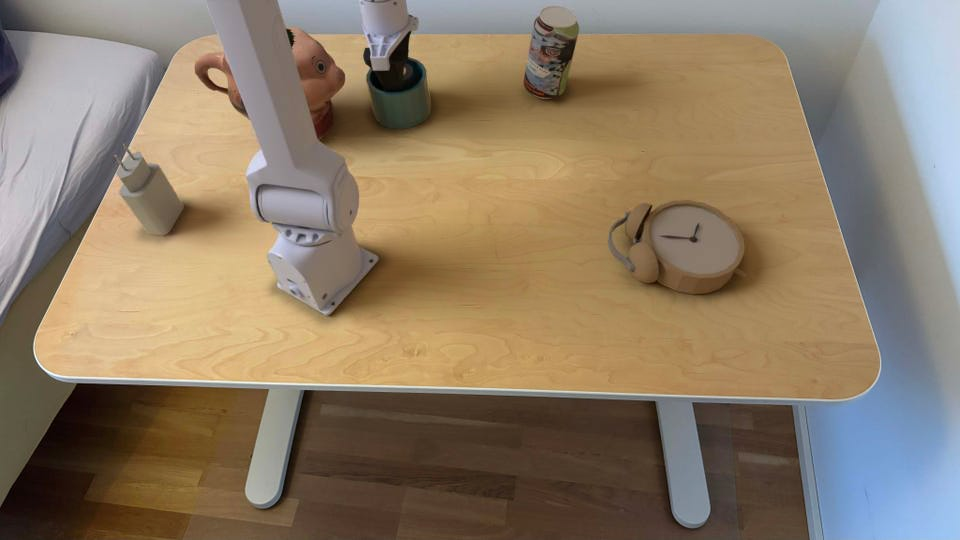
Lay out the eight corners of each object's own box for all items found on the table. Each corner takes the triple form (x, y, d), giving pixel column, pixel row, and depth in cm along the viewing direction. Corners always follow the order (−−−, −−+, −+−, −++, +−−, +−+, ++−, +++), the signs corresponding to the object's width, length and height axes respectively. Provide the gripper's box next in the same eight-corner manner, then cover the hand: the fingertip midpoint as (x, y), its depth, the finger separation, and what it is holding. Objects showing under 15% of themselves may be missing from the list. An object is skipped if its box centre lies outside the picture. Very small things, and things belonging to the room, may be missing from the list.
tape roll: (403, 105, 90) (399, 85, 88) (378, 94, 92) (373, 75, 89) (422, 87, 92) (419, 67, 90) (397, 77, 94) (393, 57, 91)
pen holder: (408, 136, 91) (402, 102, 86) (362, 116, 94) (353, 82, 89) (442, 102, 95) (438, 67, 90) (397, 84, 98) (390, 49, 93)
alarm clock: (755, 282, 71) (618, 263, 70) (734, 307, 75) (604, 289, 74) (739, 204, 77) (613, 185, 76) (721, 230, 81) (601, 212, 80)
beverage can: (516, 85, 97) (515, 10, 87) (560, 70, 98) (564, -5, 88) (536, 110, 93) (538, 36, 83) (582, 94, 95) (588, 19, 85)
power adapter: (185, 204, 86) (143, 134, 76) (166, 236, 83) (120, 167, 73) (164, 201, 86) (119, 131, 77) (144, 233, 83) (94, 165, 74)
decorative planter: (209, 159, 91) (164, 75, 79) (229, 101, 98) (191, 16, 87) (353, 154, 90) (329, 69, 78) (363, 96, 97) (342, 9, 86)
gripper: (406, 24, 75) (420, 116, 86) (419, -44, 84) (431, 48, 95) (345, 25, 76) (367, 117, 87) (364, -43, 84) (382, 49, 95)
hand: (397, 81), depth 91 cm, fingers closed on tape roll, 4 cm apart
